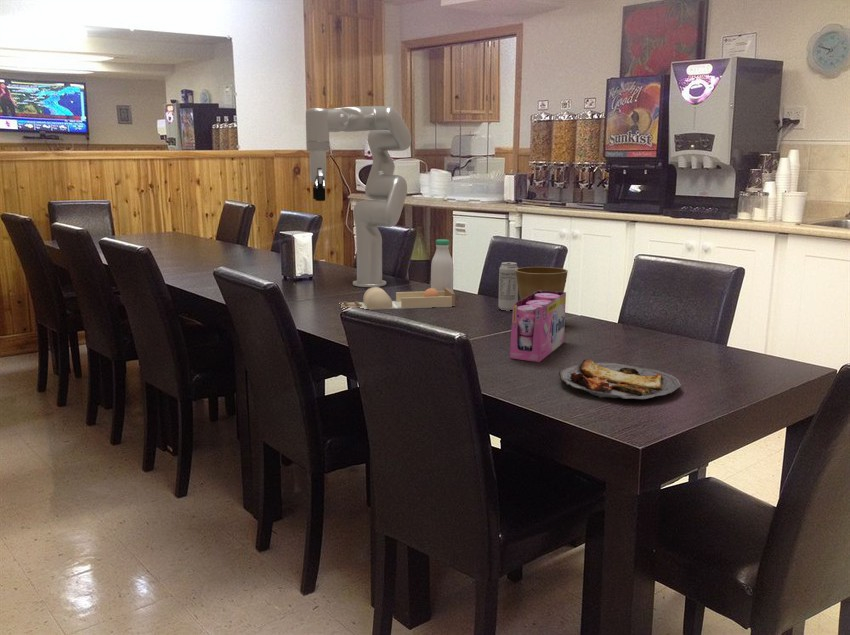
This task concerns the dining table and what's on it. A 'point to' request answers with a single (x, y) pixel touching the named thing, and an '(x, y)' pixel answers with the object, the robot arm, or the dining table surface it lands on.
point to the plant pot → (540, 280)
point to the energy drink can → (507, 286)
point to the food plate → (618, 380)
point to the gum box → (537, 325)
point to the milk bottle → (442, 267)
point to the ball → (431, 293)
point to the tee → (351, 304)
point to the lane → (405, 300)
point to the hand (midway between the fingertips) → (319, 199)
